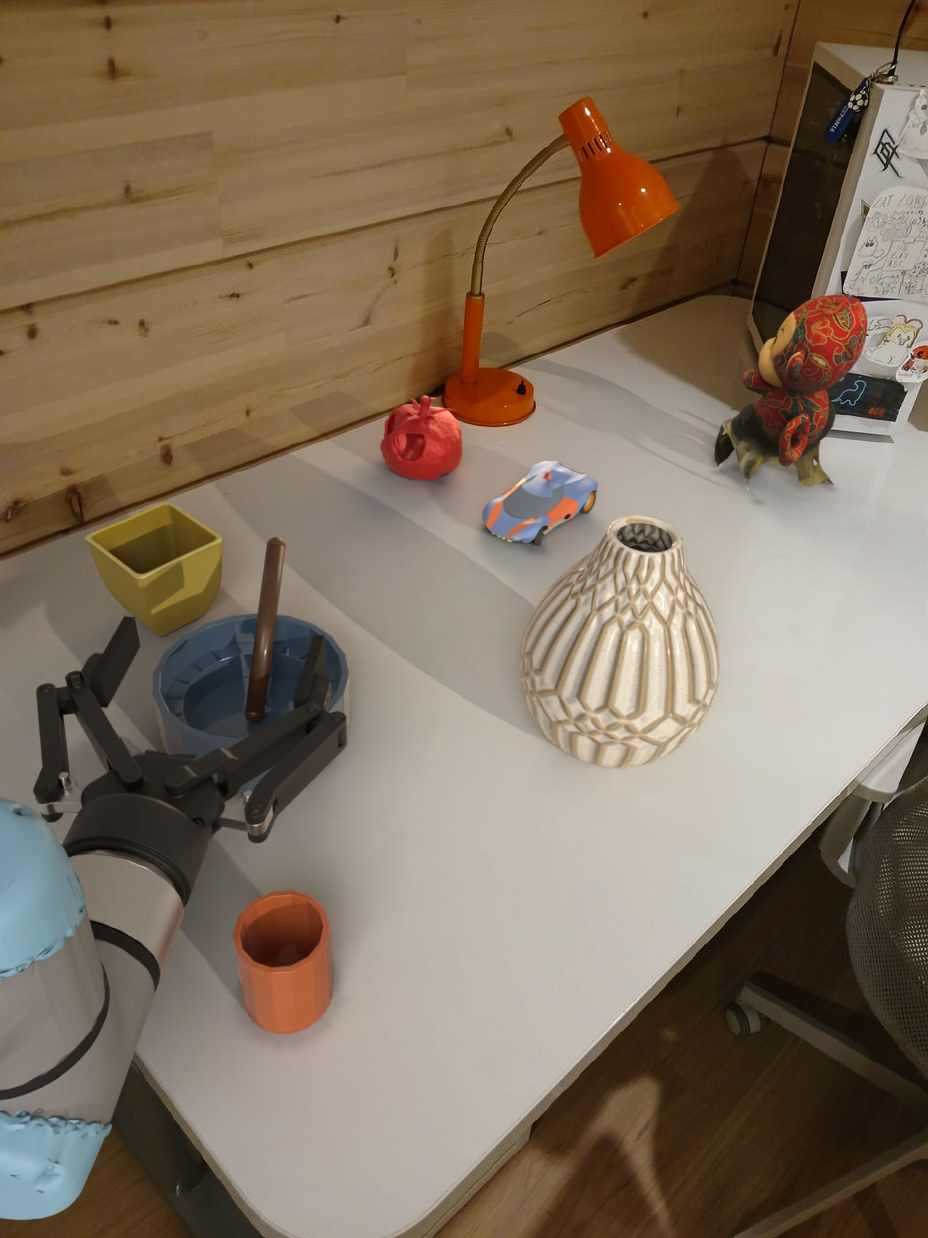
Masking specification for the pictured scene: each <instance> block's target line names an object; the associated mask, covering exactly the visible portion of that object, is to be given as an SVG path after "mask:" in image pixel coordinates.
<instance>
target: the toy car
mask: <svg viewBox="0 0 928 1238" xmlns="http://www.w3.org/2000/svg"><path fill="white" fill-rule="evenodd" d="M598 484H599V482H598V481H597V480H596V479H595V478H594V477H592V476H591V475H590V474H589V473H582V472H580V471H576V470H574V469H572V468H569V467H567V466H565V465H563V464H562V463H561V462H560V461H557V460H556V461H555V460H546V459H545V460H543V461H541V462H538V463H535V464H533V465H532V466H531V467H530V468H529V470H528V472H527V473H526V474H525V475H524V476H523V477H522V478H521V479H520V480H519V482H518V483H516V484H515V485H514V486H513V487H512V488H510V489H508V491H507V492H505V493H503V495H500V496H499V497H497V498H494V499H492V500H490V501H489V502H488V503H487V504H486V505H485V506H484V508H483V510H482V513H481V516H482V521H483V523H484V524H485V527H486V528H487V529H488V531H489V532H490V533H491V534H492V535H494V536H496V537H497V538H501V539H502V540H506V541H507V542H508V543H523V544H529V543H530V542H532V541H533V542H532V544H533V546H537V547H538V546H539V547H540V546H541V545H542V539H543V534H544V536H546V535H547V534H548V533H549V532H551V531H552V530H553V529H554V528H556V527H557V526H560V525H562V524H563V523H565V522H568V521H570V520H571V519H573V518H574V517H575V516H576V515H577V514H579V513H581V514H582V515H583V514H584V515H587V514H589V513H590V512H591V511H592V509H593V507H594V505H595V503H596V499H597V492H598V486H599V485H598Z"/></svg>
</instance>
